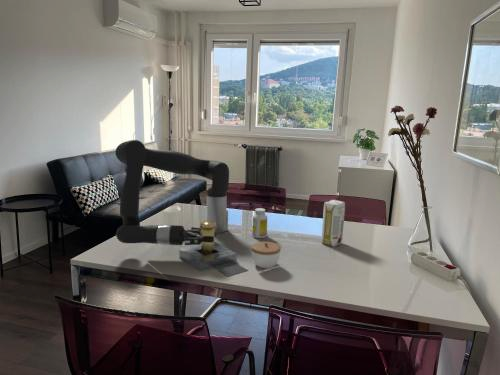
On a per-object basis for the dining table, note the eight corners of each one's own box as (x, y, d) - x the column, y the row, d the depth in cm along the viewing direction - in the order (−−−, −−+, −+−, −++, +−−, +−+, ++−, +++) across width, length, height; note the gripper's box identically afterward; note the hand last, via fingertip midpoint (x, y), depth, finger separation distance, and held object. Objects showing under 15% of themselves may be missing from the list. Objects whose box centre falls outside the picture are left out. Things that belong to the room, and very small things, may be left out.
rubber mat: (233, 263, 144) (234, 261, 144) (248, 271, 137) (248, 270, 137) (213, 269, 138) (213, 267, 138) (227, 278, 131) (227, 276, 131)
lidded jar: (270, 274, 135) (271, 250, 133) (245, 267, 141) (246, 243, 139) (284, 264, 144) (285, 241, 142) (260, 258, 150) (261, 235, 148)
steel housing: (214, 249, 157) (214, 241, 157) (236, 262, 145) (236, 253, 144) (179, 257, 148) (179, 249, 147) (200, 272, 135) (200, 263, 135)
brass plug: (210, 254, 150) (210, 219, 147) (218, 259, 146) (218, 223, 143) (196, 257, 147) (196, 222, 144) (204, 263, 142) (205, 226, 139)
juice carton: (343, 243, 168) (347, 202, 164) (333, 248, 162) (337, 205, 158) (329, 238, 173) (332, 198, 169) (318, 243, 167) (321, 202, 163)
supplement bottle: (268, 235, 177) (269, 208, 174) (264, 239, 170) (265, 212, 168) (254, 233, 179) (255, 206, 176) (250, 237, 173) (251, 210, 170)
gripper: (165, 231, 137) (212, 233, 136) (174, 220, 151) (217, 221, 150) (165, 251, 139) (212, 253, 138) (175, 237, 153) (217, 239, 152)
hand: (214, 236), depth 144 cm, fingers closed on brass plug, 5 cm apart
